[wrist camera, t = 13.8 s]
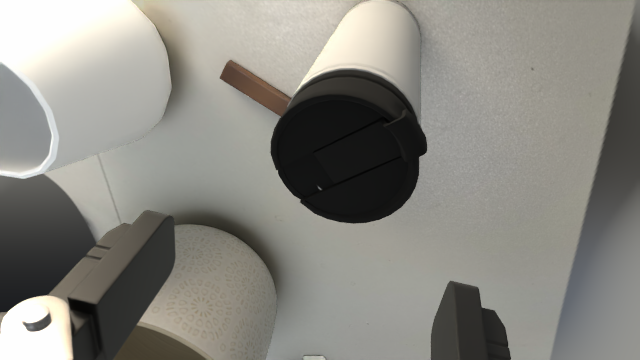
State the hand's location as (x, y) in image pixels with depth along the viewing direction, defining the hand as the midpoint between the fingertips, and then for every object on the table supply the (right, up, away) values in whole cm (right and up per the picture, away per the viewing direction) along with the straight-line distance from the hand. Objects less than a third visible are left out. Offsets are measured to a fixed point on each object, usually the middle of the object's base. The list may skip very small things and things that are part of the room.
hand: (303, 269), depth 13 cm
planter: (-11, -7, +37) cm, 40 cm away
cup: (-17, +14, +27) cm, 34 cm away
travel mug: (+5, +13, +22) cm, 26 cm away
